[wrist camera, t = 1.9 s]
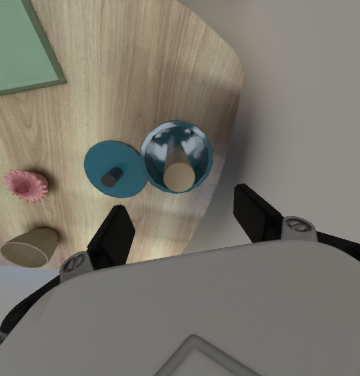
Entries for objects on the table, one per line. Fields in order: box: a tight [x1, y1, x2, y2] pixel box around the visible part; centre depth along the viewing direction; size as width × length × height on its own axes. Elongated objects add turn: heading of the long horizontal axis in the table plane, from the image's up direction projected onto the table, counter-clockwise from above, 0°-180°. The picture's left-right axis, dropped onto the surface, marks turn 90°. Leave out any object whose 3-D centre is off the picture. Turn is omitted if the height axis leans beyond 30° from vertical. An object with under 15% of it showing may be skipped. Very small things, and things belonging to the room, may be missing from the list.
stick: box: [163, 144, 195, 192], centre depth 22 cm, size 4×4×14 cm
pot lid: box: [84, 141, 147, 198], centre depth 28 cm, size 14×14×6 cm
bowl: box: [0, 228, 58, 269], centre depth 35 cm, size 10×10×7 cm
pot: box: [140, 120, 213, 194], centre depth 26 cm, size 13×13×8 cm
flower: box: [3, 169, 49, 203], centre depth 28 cm, size 8×8×6 cm
